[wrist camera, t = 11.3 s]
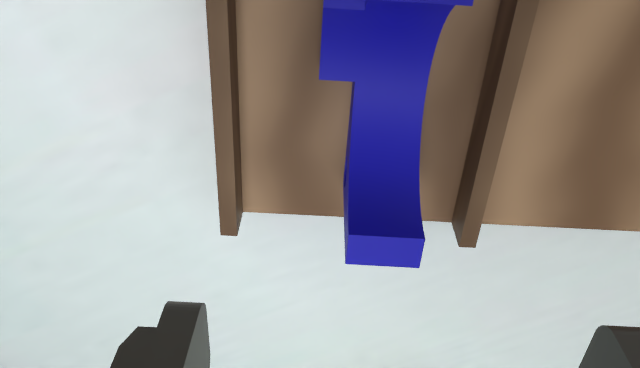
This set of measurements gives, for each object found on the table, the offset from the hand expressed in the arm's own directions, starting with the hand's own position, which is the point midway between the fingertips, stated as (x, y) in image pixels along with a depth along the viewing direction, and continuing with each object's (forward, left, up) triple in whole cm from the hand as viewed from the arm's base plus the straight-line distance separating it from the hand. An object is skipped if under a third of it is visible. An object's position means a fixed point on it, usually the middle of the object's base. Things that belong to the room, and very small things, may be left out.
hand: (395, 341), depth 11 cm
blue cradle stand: (0, 0, -15) cm, 15 cm away
